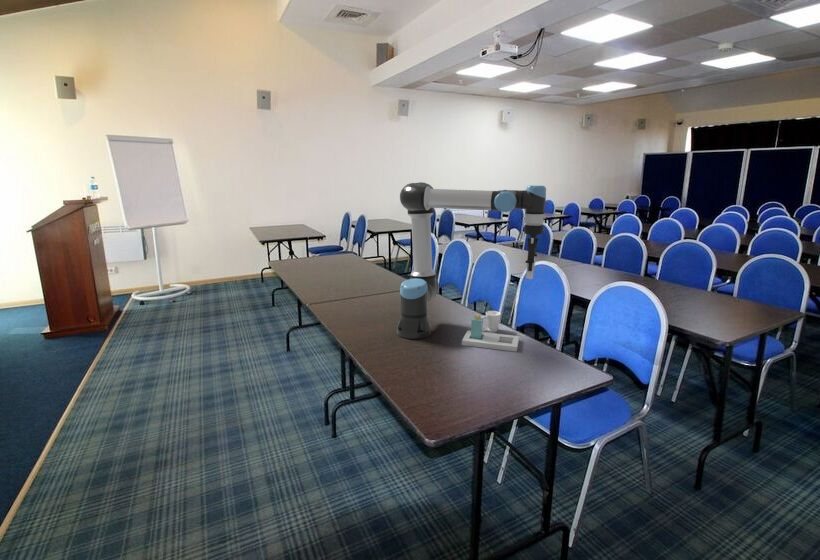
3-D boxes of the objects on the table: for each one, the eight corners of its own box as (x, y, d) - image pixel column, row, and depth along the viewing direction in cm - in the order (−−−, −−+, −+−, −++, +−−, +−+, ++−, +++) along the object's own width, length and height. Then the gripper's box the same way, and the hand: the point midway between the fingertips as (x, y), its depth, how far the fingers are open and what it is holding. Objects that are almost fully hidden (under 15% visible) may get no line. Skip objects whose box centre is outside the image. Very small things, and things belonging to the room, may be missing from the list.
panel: (461, 344, 172) (461, 340, 171) (467, 334, 183) (467, 330, 182) (516, 351, 165) (516, 346, 164) (519, 340, 176) (519, 336, 175)
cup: (503, 331, 186) (504, 314, 184) (482, 334, 183) (483, 316, 181) (495, 326, 193) (496, 309, 191) (475, 329, 190) (476, 312, 188)
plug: (470, 342, 175) (471, 315, 172) (472, 338, 178) (473, 313, 175) (480, 343, 173) (481, 316, 170) (481, 340, 177) (482, 313, 174)
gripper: (543, 228, 158) (538, 282, 163) (544, 221, 181) (540, 269, 186) (522, 227, 160) (518, 281, 165) (526, 220, 183) (522, 268, 188)
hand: (530, 275), depth 175 cm, fingers open, 13 cm apart
